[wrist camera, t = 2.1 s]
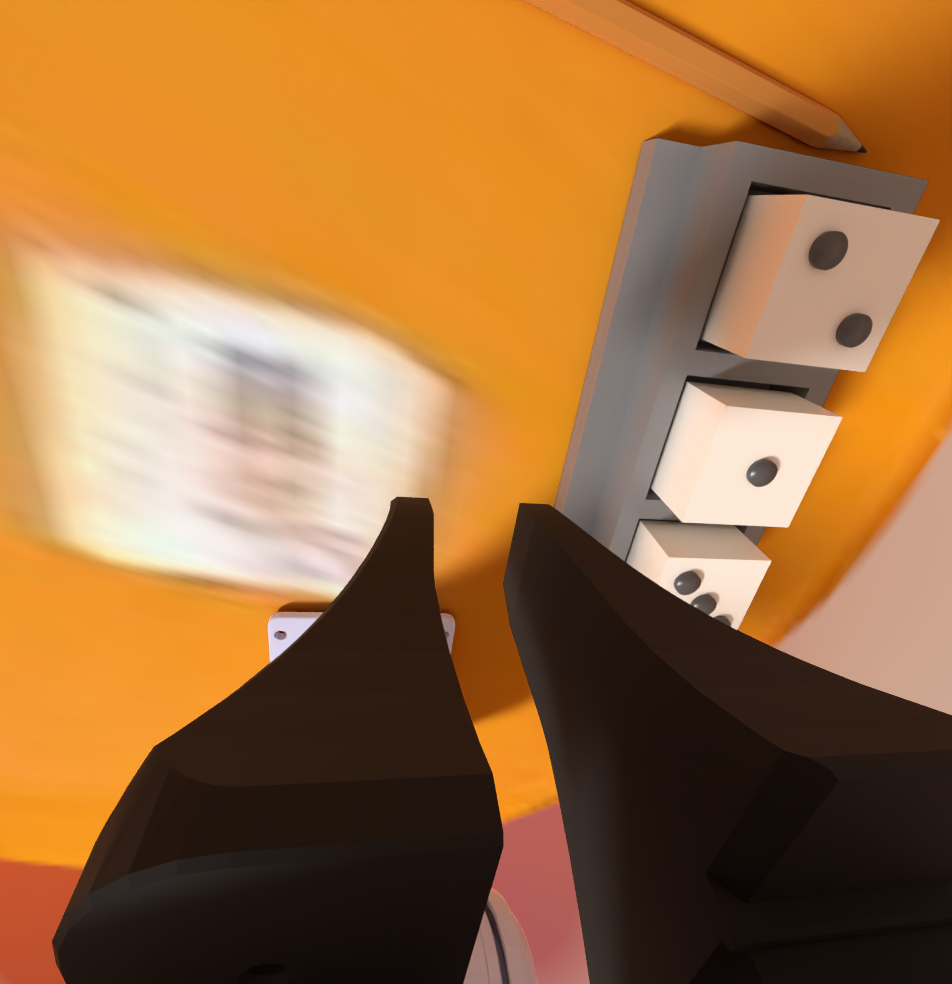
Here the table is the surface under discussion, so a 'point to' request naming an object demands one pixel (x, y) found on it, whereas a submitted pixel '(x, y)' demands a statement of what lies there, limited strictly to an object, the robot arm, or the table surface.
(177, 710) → the table surface
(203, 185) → the table surface
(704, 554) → the tile three
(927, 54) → the table surface
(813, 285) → the tile two
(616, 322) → the tile board
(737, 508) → the tile one
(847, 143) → the pencil
